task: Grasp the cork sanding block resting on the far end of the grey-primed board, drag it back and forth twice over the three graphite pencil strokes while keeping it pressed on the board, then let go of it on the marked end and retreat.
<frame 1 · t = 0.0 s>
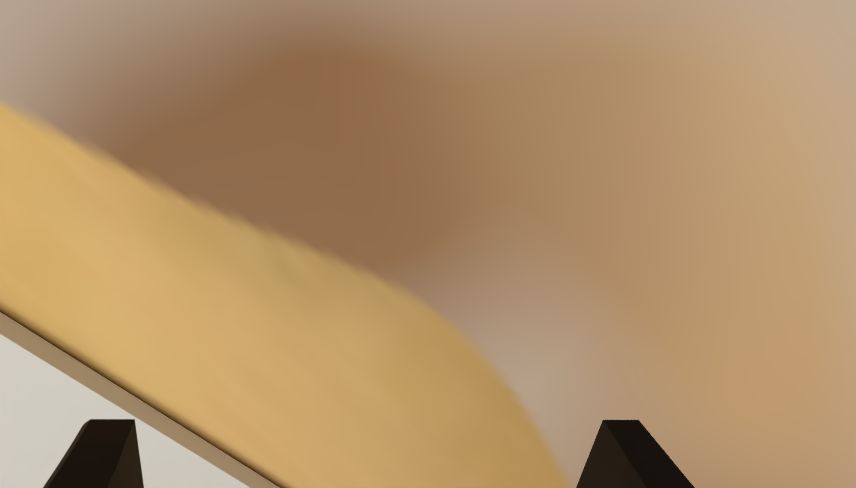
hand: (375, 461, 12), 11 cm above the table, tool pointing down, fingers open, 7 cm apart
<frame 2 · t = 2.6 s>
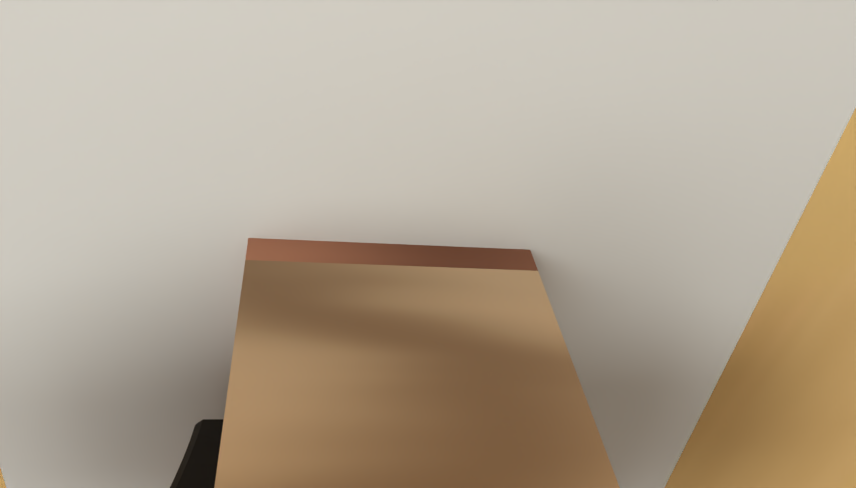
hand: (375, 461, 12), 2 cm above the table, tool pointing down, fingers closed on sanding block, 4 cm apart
sanding block: (371, 412, 13), point 1 cm above the table, touching board, gripper
board: (405, 88, 10), on the table
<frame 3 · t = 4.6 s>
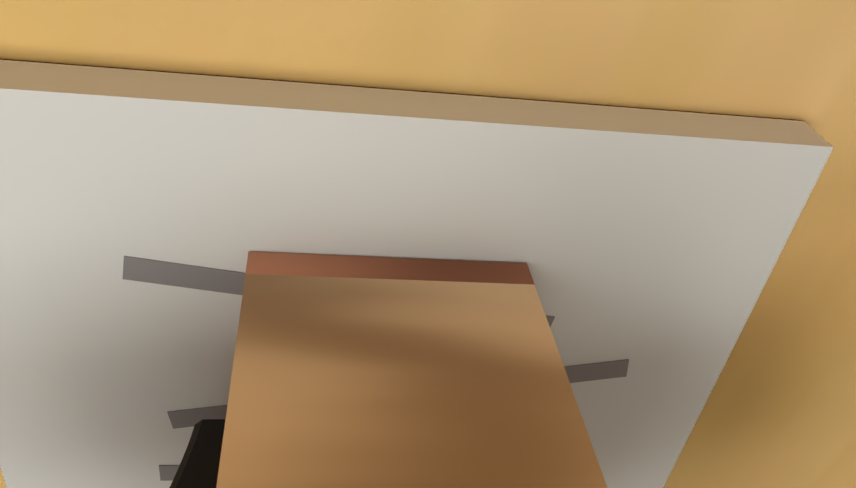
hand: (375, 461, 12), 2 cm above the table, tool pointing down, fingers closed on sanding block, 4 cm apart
sanding block: (369, 422, 13), point 1 cm above the table, touching gripper
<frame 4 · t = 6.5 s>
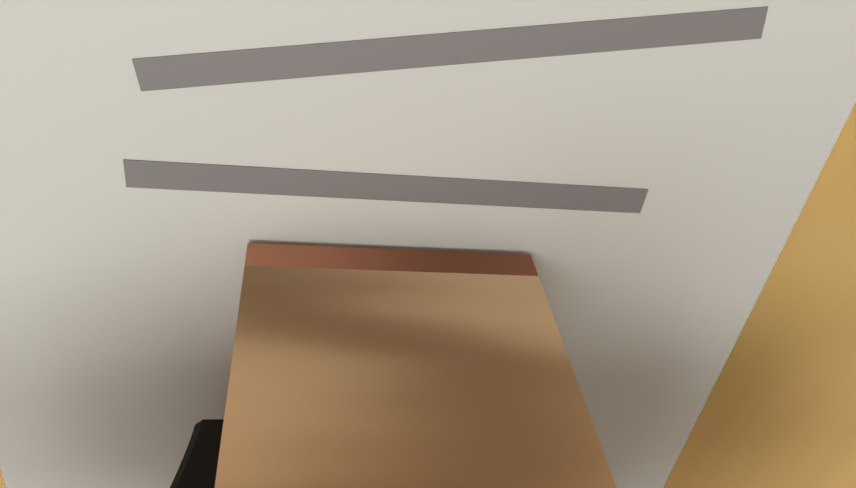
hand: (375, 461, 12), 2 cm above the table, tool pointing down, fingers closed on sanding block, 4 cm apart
sanding block: (371, 416, 13), point 1 cm above the table, touching gripper
board: (381, 269, 12), on the table
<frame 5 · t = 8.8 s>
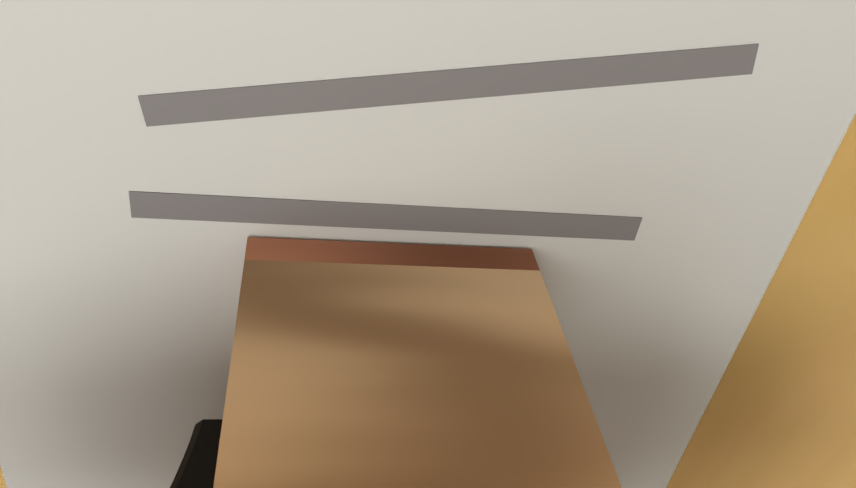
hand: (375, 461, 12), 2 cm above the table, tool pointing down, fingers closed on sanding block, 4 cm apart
sanding block: (371, 412, 12), point 1 cm above the table, touching gripper
board: (380, 292, 12), on the table
when the fingers open (2 cm above the table, at t = 10.3 s): sanding block stays where it is, resting on board.
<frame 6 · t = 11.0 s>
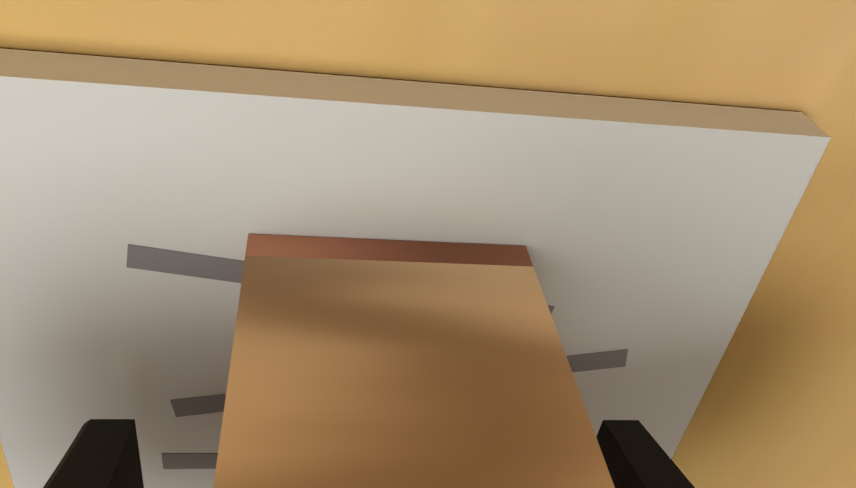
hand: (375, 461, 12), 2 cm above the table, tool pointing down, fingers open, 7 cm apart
sanding block: (369, 407, 13), point 1 cm above the table, touching board
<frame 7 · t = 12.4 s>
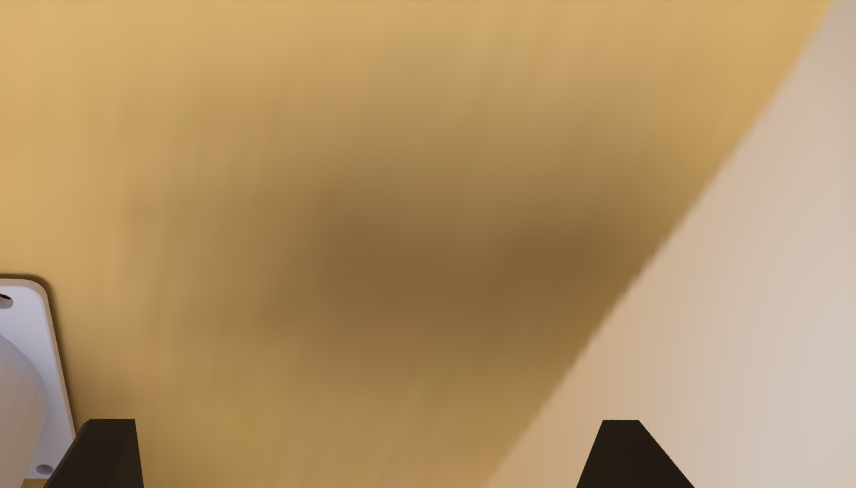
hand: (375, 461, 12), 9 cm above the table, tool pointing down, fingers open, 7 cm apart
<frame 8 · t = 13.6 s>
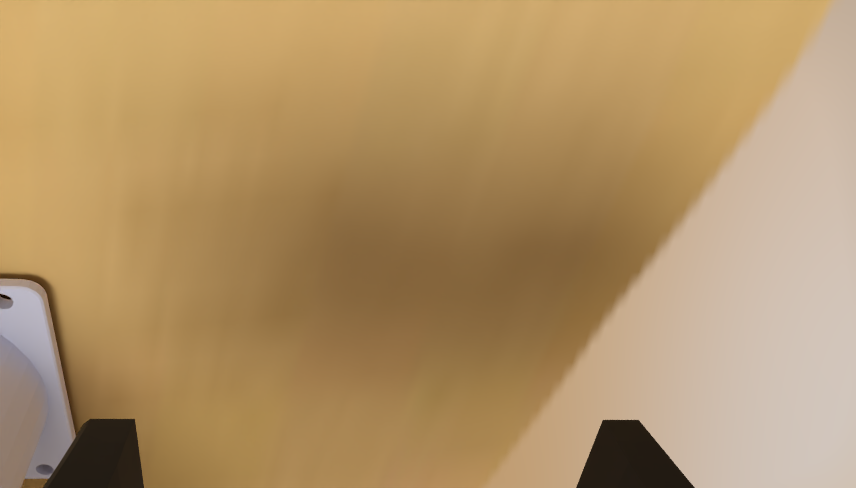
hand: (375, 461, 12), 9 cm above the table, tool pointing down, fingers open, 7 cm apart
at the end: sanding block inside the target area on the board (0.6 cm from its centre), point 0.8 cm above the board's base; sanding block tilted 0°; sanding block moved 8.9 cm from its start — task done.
